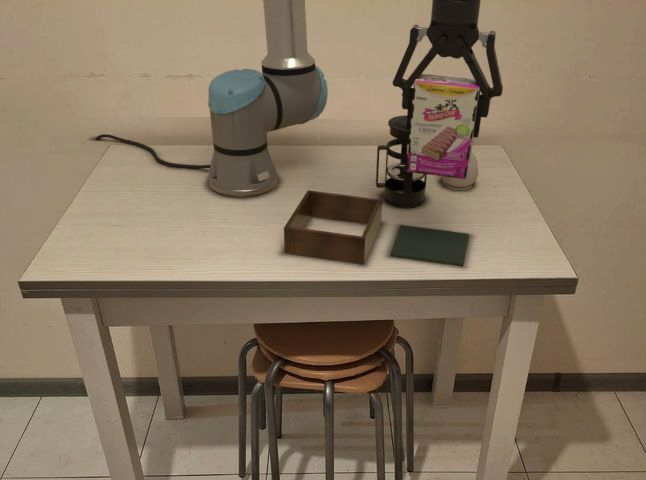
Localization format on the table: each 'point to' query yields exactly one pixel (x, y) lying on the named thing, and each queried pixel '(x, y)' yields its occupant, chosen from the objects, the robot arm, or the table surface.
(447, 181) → the potion bottle
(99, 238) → the table surface
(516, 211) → the table surface
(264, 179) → the robot arm
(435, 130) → the candy bar box
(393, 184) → the french press
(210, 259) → the table surface
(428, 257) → the mat
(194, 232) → the table surface
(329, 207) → the crate
